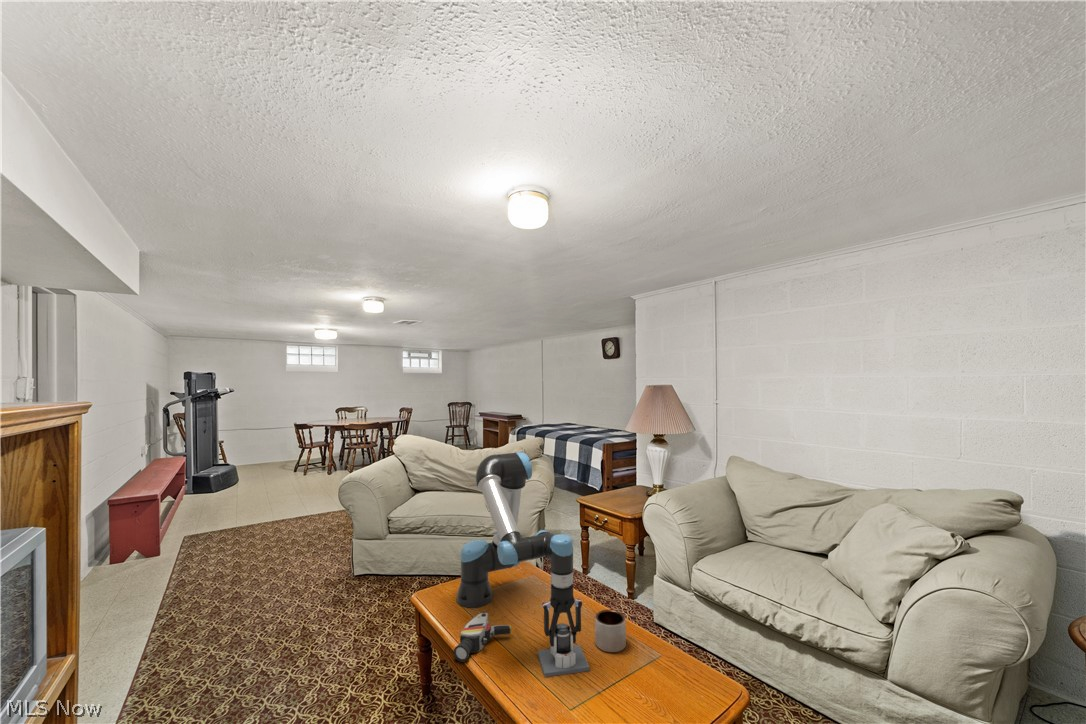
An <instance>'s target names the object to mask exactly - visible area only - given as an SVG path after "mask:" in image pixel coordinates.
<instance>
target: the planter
mask: <svg viewBox="0 0 1086 724" xmlns="http://www.w3.org/2000/svg"><path fill="white" fill-rule="evenodd" d="M594 620H595V621H594V624H595V625H594V627H595V629H594V641H595V645H596V647H597V648H598V649H600V650H601V651H603V652H606V653H613V654H615V653H619V652H621V651H623V650H624V649H625V648H626V645H627V635H626V616H625V615H624V614H623V613H622V612H620V611H618V610H614V609H602V610H600V611H597V613H596V614H595V617H594Z"/></svg>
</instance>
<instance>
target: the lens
mask: <svg viewBox="0 0 1086 724" xmlns="http://www.w3.org/2000/svg"><path fill="white" fill-rule="evenodd" d="M570 631H571V628H570V624H567V623H557V626H556V630H555V635H556V642H557V653H559V654H568V653H570Z"/></svg>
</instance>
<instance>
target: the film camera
mask: <svg viewBox="0 0 1086 724" xmlns="http://www.w3.org/2000/svg"><path fill="white" fill-rule="evenodd" d="M511 634H512V626H511V624H500V625H498V624H497V625H491V624H490V623H489V612H482V613H478V614H477V615H475V616H474V617H473V618H471V619H470V620H469V621H468V622H467V623H466V624H465V626H464V627H463V628H462V630H461V631H460V633H459V638H460V639H459V642H460V643H458V644H457V645H456V646H455V647H454V648H453V655H454V659H456V660H457V661H459V662H461V663H465V662H467V660H468V658H469V657H470V653H472V654H477V653H478V652H480V651H479V650H481V651H482V650H483V648H484V647H485V646H486V645H487V643H488V642H490V640H492V637H493V636H500V635H511Z"/></svg>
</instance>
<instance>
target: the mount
mask: <svg viewBox="0 0 1086 724" xmlns="http://www.w3.org/2000/svg"><path fill="white" fill-rule="evenodd" d="M537 656H538V657H537V658H538V659H539V663H540V666H541V670H542V673H543V676H544V678H547V677H548V678H549V677H554V676H555V677H556V676H561V675H562V676H563V675H570V674H576V673H583V672H589V671H591V670H590V669H591V666H590V665H589V663H588V660H587V658H586V656H585V653H584V652H583V649H582V647H581V645H580V644H577V645H573V651H571V652H570V653H568V654H559V653H557V654H556V656H555V658H554V655H553V646H551V645H550V648H547V649H540V650H537Z"/></svg>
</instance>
